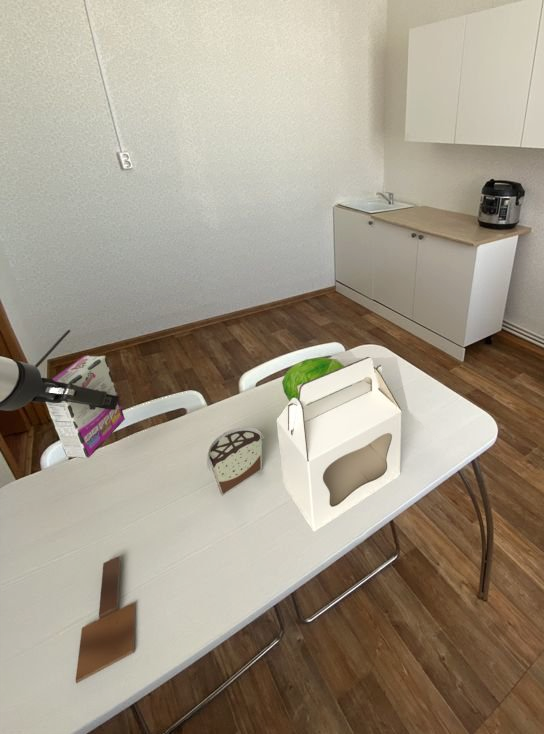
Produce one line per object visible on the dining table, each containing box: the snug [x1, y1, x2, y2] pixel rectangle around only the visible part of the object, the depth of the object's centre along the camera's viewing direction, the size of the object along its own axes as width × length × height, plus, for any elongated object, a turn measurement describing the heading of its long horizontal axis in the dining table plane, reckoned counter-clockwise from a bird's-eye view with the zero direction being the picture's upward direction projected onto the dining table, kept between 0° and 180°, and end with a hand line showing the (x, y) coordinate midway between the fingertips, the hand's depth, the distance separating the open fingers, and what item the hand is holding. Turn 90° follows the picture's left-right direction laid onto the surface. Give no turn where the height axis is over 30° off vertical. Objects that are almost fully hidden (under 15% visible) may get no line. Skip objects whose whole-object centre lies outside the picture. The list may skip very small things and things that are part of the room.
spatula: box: [75, 555, 136, 684], centre depth 60 cm, size 16×7×1 cm, turn 28°
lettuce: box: [281, 356, 353, 406], centre depth 103 cm, size 17×20×17 cm
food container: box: [206, 426, 265, 497], centre depth 83 cm, size 12×6×10 cm, turn 135°
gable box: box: [275, 356, 403, 532], centre depth 78 cm, size 22×13×28 cm, turn 126°
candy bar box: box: [44, 354, 126, 459], centre depth 76 cm, size 11×5×16 cm, turn 175°
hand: (102, 402), depth 80 cm, fingers closed on candy bar box, 5 cm apart
